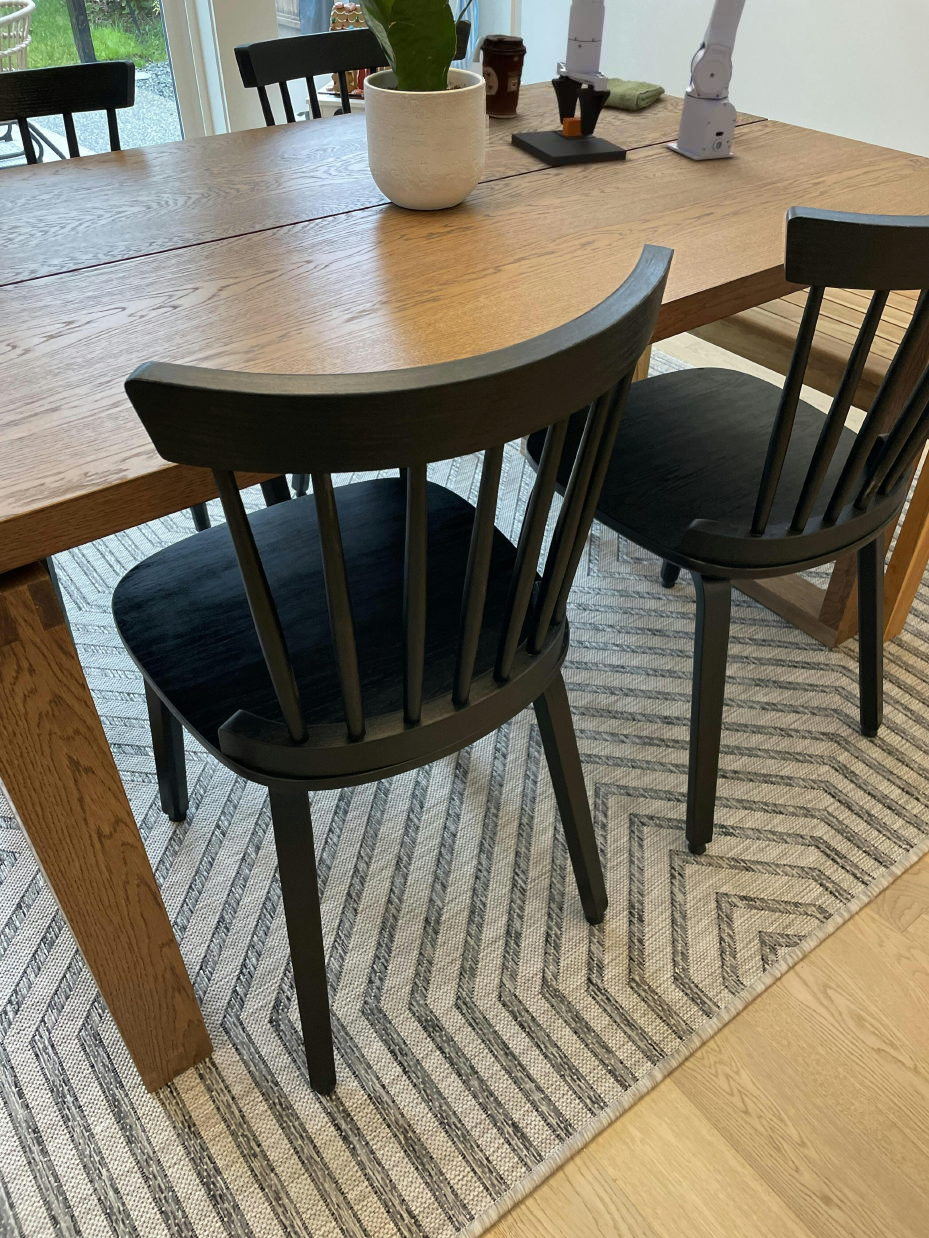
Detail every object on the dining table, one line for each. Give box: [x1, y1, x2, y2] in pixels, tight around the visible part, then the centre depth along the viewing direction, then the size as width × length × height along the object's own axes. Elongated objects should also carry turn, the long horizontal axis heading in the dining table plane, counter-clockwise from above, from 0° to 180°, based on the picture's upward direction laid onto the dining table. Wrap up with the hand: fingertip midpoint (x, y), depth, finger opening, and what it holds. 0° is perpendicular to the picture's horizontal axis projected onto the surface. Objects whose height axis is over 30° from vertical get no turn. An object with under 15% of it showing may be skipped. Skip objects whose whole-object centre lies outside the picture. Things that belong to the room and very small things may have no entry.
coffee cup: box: [479, 33, 527, 119], centre depth 175 cm, size 9×8×13 cm
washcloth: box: [603, 77, 666, 111], centre depth 190 cm, size 13×18×3 cm
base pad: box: [510, 129, 628, 168], centre depth 159 cm, size 16×14×2 cm
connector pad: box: [555, 116, 597, 140], centre depth 162 cm, size 5×5×4 cm
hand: (576, 129), depth 162 cm, fingers open, 7 cm apart
